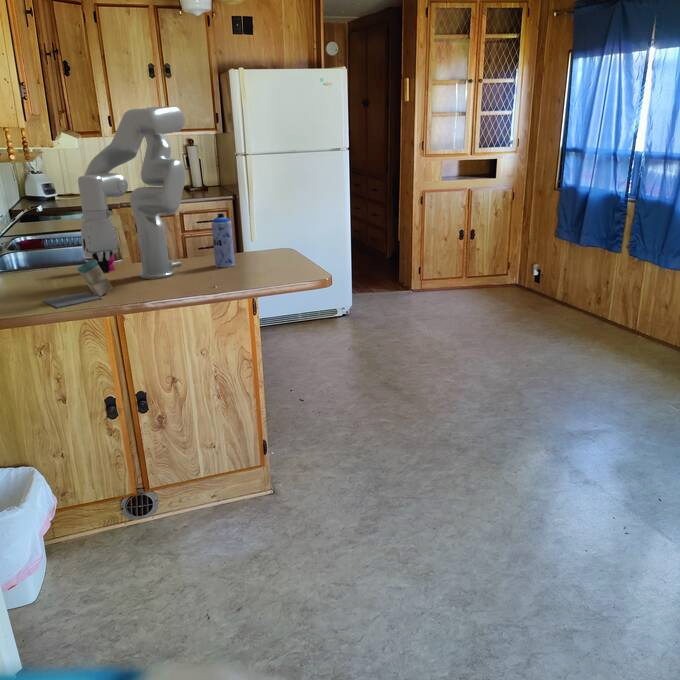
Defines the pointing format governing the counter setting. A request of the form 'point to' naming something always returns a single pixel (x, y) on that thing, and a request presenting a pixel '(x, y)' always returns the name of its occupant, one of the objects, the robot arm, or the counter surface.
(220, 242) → the aerosol can
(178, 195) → the robot arm
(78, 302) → the rubber mat
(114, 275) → the counter surface
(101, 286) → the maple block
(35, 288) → the counter surface
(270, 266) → the counter surface
